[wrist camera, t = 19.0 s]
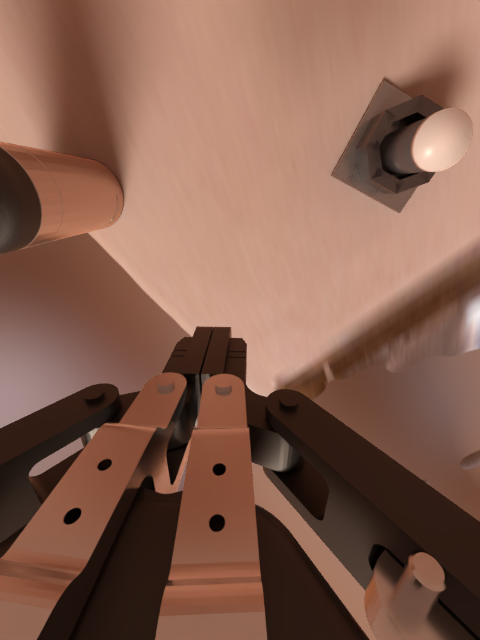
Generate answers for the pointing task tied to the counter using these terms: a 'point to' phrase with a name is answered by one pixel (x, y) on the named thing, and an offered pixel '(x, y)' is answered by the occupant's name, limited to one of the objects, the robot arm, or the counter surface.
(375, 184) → the hex nut base plate
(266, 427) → the robot arm
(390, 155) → the grey round peg
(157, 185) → the counter surface
